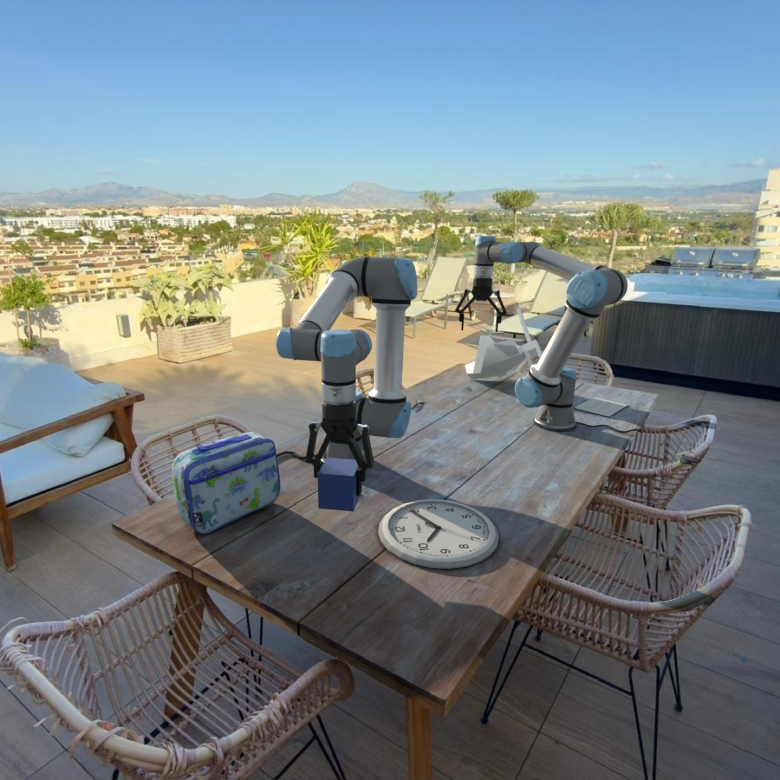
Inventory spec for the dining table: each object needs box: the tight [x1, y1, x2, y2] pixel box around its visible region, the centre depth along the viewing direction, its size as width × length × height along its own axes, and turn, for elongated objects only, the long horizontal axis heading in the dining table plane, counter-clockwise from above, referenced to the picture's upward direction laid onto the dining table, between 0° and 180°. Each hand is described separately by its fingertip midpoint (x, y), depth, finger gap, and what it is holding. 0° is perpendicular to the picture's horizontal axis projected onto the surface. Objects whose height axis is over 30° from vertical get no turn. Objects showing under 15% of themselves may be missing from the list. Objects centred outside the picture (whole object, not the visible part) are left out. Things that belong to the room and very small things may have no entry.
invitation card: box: [573, 396, 629, 418], centre depth 226 cm, size 21×1×15 cm
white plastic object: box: [464, 308, 543, 380], centre depth 255 cm, size 37×45×31 cm
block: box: [317, 458, 362, 513], centre depth 122 cm, size 8×9×9 cm
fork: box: [411, 395, 426, 410], centre depth 224 cm, size 3×16×2 cm, turn 160°
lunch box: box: [171, 431, 281, 535], centre depth 134 cm, size 26×11×21 cm, turn 134°
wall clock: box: [377, 498, 500, 570], centre depth 131 cm, size 30×2×30 cm
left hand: (340, 491), depth 123 cm, fingers closed on block, 8 cm apart
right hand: (479, 330), depth 210 cm, fingers open, 13 cm apart
